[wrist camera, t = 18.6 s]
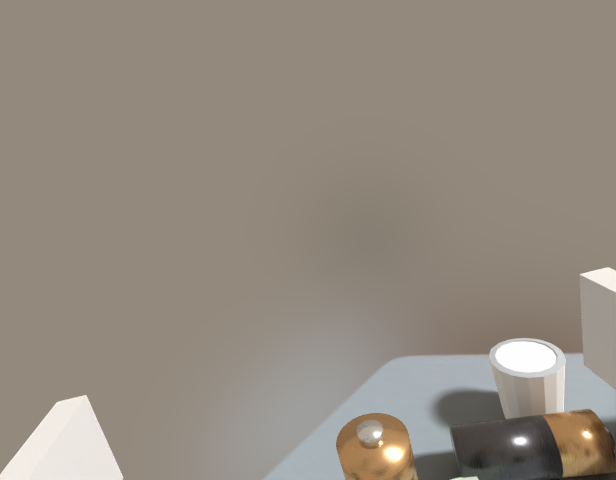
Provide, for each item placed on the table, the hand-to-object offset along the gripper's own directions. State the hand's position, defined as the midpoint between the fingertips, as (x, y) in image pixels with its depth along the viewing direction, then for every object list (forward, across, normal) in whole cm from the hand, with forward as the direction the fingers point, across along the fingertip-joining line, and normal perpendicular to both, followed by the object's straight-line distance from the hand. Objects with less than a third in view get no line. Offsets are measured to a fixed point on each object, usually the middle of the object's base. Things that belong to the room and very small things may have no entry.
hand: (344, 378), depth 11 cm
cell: (+14, +1, -27) cm, 30 cm away
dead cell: (+20, +15, -28) cm, 37 cm away
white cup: (+26, +19, -28) cm, 43 cm away
